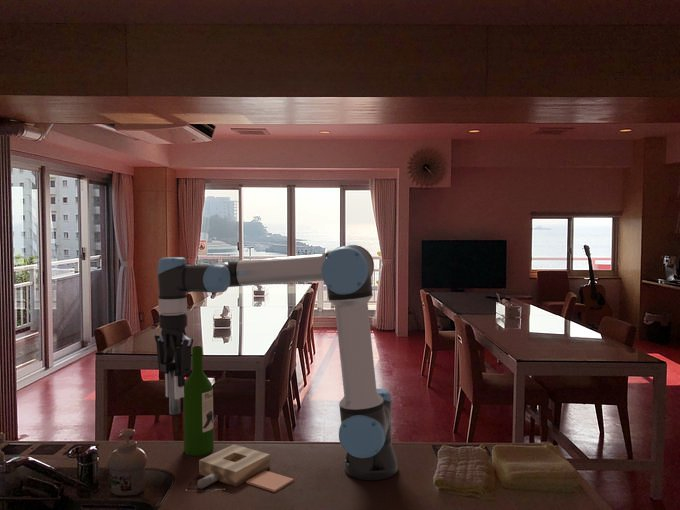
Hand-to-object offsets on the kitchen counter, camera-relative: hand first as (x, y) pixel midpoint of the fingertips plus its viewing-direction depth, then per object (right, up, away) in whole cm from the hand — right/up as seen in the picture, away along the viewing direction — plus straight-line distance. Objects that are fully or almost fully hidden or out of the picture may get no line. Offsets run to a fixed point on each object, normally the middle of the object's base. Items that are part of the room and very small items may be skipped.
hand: (174, 396), depth 159 cm
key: (0, -5, 0) cm, 5 cm away
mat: (+27, -22, -3) cm, 35 cm away
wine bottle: (+2, -22, +19) cm, 29 cm away
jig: (+14, -22, +1) cm, 27 cm away
